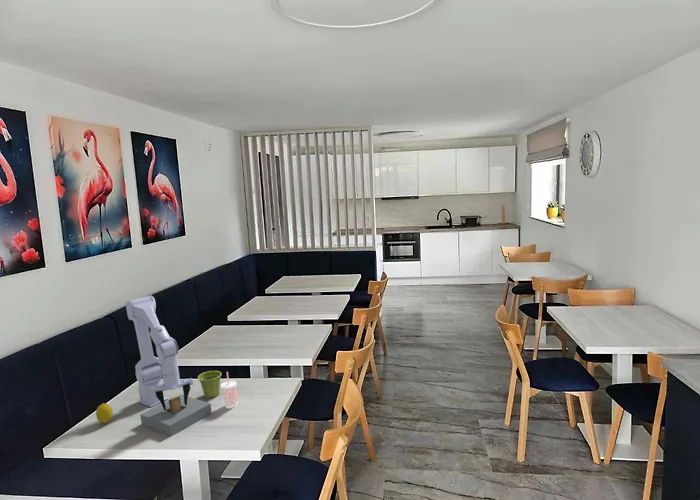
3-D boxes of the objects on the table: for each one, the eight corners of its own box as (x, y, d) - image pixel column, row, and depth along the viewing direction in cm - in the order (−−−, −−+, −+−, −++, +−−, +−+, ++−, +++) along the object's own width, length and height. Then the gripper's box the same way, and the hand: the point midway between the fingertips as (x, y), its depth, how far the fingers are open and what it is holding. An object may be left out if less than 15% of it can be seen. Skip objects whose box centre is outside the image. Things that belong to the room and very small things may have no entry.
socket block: (141, 424, 181) (140, 414, 180) (182, 403, 196) (181, 394, 195) (171, 436, 171) (169, 425, 170) (211, 413, 185) (210, 403, 185)
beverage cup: (220, 408, 189) (215, 374, 187) (229, 401, 195) (225, 368, 192) (233, 410, 187) (229, 375, 185) (242, 402, 192) (238, 369, 190)
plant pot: (214, 388, 208) (211, 369, 207) (228, 392, 203) (226, 373, 201) (195, 397, 201) (193, 377, 199) (210, 402, 195) (207, 381, 194)
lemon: (117, 420, 186) (114, 400, 185) (105, 427, 181) (102, 407, 180) (106, 418, 188) (102, 399, 186) (94, 426, 183) (91, 406, 181)
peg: (169, 420, 183) (166, 400, 181) (178, 415, 186) (175, 395, 185) (175, 422, 180) (173, 402, 179) (184, 417, 184) (182, 397, 182)
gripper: (150, 381, 174) (155, 416, 176) (192, 371, 180) (196, 405, 182) (149, 374, 180) (154, 408, 182) (189, 365, 186) (194, 398, 188)
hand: (175, 406), depth 182 cm, fingers open, 7 cm apart
